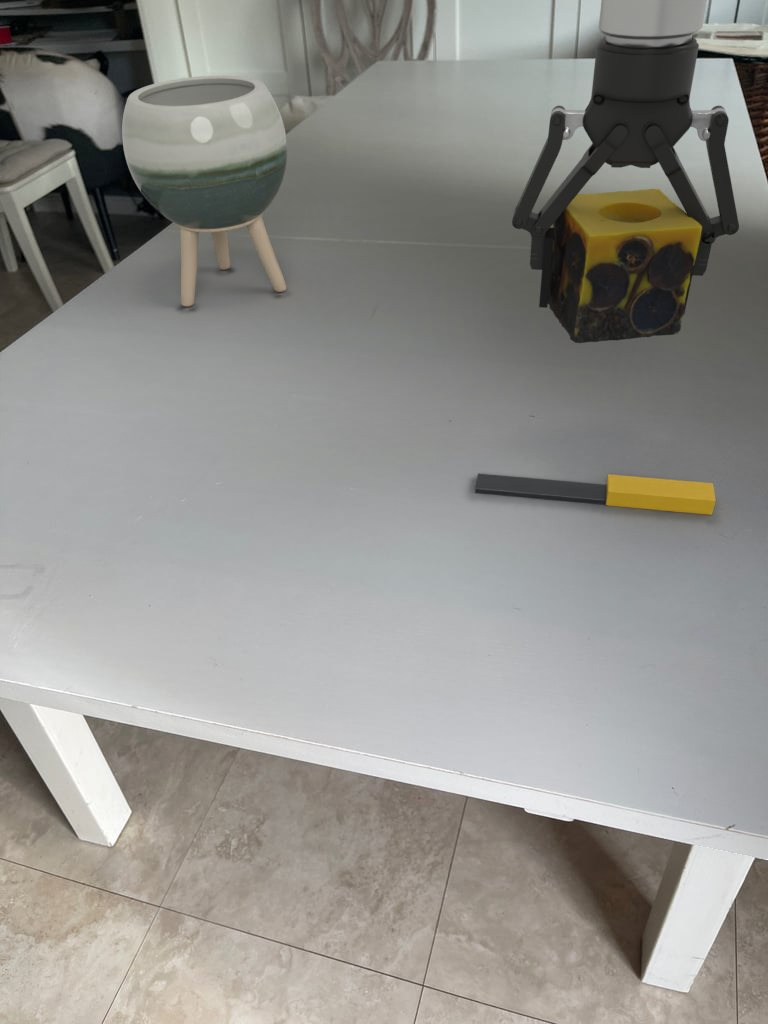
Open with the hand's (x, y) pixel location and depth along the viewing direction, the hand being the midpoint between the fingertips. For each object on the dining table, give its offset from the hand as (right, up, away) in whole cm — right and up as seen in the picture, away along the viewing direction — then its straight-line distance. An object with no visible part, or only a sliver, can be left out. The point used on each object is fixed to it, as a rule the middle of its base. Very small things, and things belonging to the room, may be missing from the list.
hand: (610, 304), depth 75 cm
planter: (-45, +15, +50) cm, 69 cm away
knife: (-1, -18, +6) cm, 19 cm away
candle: (0, -1, +1) cm, 1 cm away
